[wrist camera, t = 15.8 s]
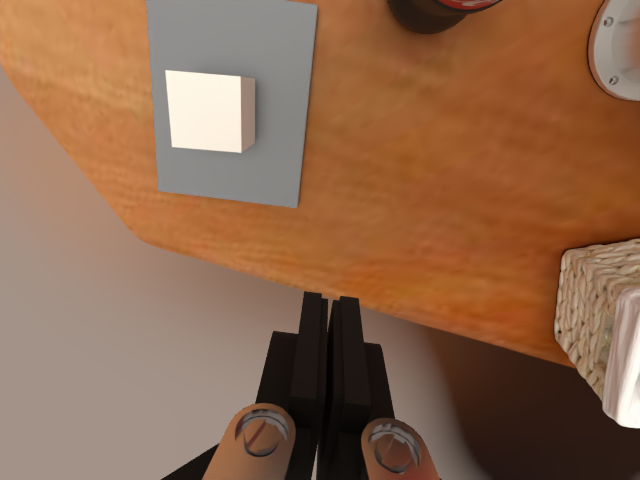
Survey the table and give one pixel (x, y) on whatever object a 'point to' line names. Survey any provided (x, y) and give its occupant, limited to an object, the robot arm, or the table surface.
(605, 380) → the storage basket
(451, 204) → the table surface
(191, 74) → the matte white box
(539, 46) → the table surface
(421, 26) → the cola bottle
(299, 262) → the table surface
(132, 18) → the table surface
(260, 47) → the board
